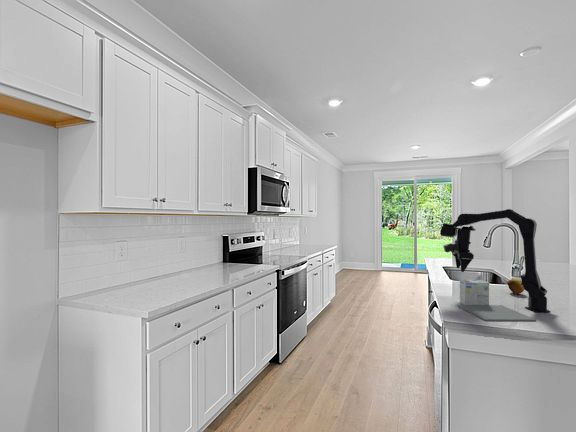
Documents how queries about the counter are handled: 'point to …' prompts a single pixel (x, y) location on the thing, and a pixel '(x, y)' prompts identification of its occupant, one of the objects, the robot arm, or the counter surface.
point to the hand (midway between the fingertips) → (460, 269)
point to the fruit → (515, 286)
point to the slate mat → (495, 313)
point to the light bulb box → (474, 292)
